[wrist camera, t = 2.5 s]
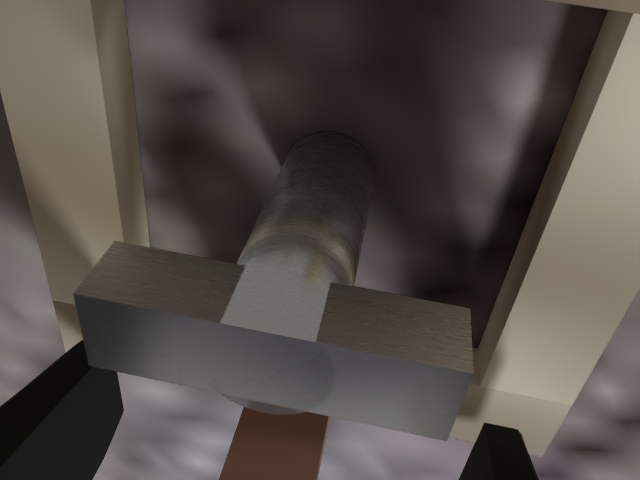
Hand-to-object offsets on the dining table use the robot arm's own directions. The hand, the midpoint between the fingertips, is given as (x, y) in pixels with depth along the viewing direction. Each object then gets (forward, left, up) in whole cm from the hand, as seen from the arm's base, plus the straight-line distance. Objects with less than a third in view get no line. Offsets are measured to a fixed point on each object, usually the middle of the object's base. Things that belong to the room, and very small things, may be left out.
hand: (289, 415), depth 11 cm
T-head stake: (+3, +3, -2) cm, 5 cm away
